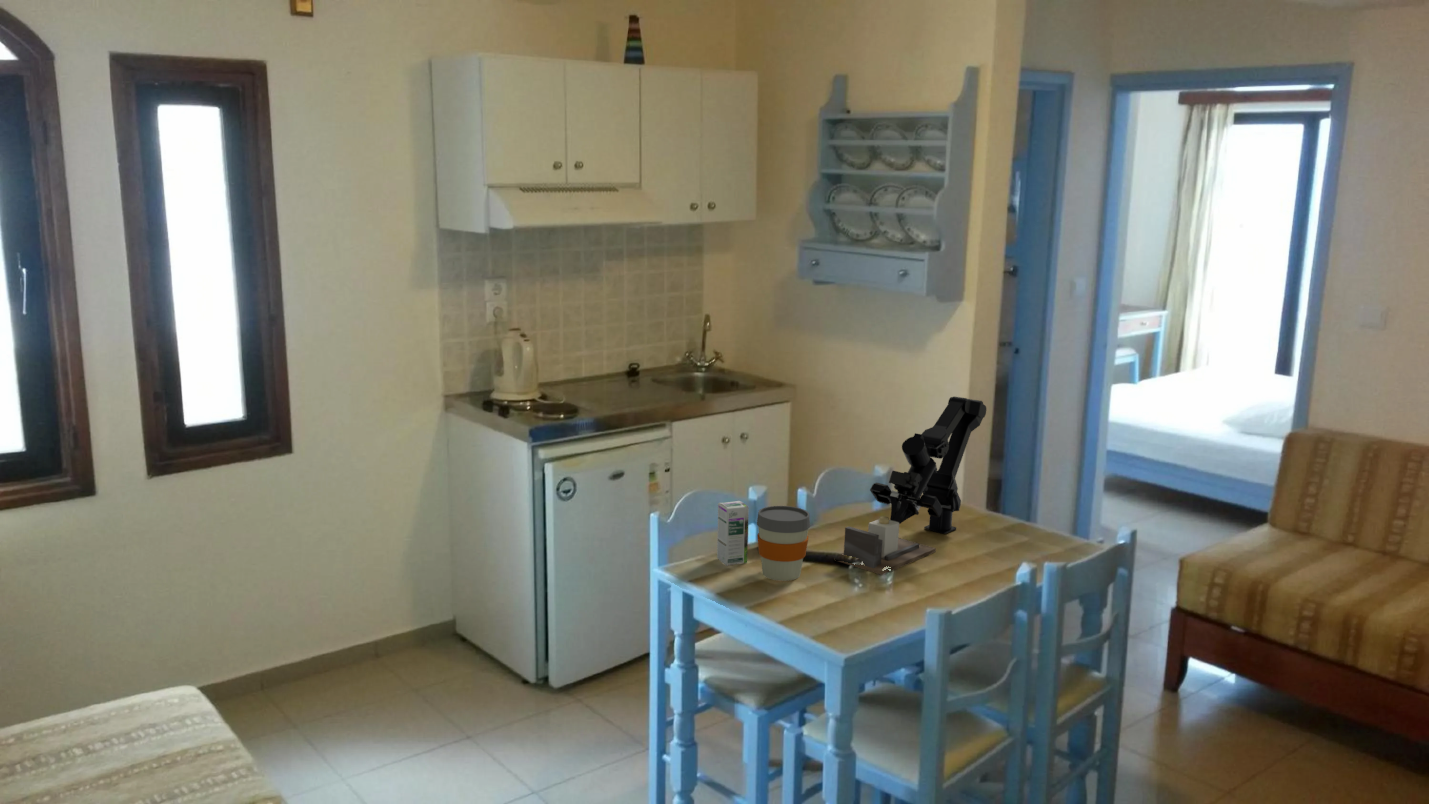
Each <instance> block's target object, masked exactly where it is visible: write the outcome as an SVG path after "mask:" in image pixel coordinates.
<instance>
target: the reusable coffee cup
mask: <svg viewBox="0 0 1429 804" xmlns="http://www.w3.org/2000/svg"><path fill="white" fill-rule="evenodd" d="M756 525H757V527H758V528H757V529H758V533H757V545H758V554H759V556H760V558H761V560H760V561H761V562H760V563H761V570H762V571H761V572H762V576H764V577H765V578H767V579H769V580H774V581H779V582H784V581H785V582H787V581H793V580H796V579H798V578H800V576H801V572H802V566H803V562H804V561H803V560H804V558H805V557H806V553H807V548H808V543H809V535H808V534H809V529H810V527H811V517H810V513H809V511H808V510H805V509H803V508H801V507H796V506H790V505H771V506H770V505H769V506H767V507H766V506H765V507H762V508H761V509H759V510H758V512H757V519H756Z"/></svg>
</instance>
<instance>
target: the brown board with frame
mask: <svg viewBox="0 0 1429 804" xmlns="http://www.w3.org/2000/svg"><path fill="white" fill-rule="evenodd" d="M882 541H883V540H880V539H879V535H877V534H874V533H870V532H868V530H863V529H859V528H856V527H854V526H846V527H845V528H844V544H843V545H844V546H843V552H842V553H841V554H842V555H847V556H852V557H856V558H859V559H860V560H862V561H863V563H864V564H865V566H864V565H861V564H860V565H856V564H855V565H854V564H852V563H848V562H844V561H838V562H839V563H843V564H845V565H849V566H851V567H855V568H858V569H861V570H865V571H868V572H871V573H874V574H877V575H881V576H884V575H886V574H888V573H890V572H893V571H894V570H897V569H900V568H901V567H904V566H906V565H909V564H911V563H913V562H916V561H918V560H920V559H922V558H925V557H927V556H929V555H931V554H934V553H936V551H937V548H936V547H933V546H929V545H926V544H923V543H918V542H915V541H912V540H909V539H908V540H907V539H904V538H901V537H898V551H896V552H893V553H891V554H888V555H886V556H885V558H884V559H883V558H882ZM834 561H836V560H835V559H834ZM836 562H837V561H836ZM886 566H887V567H888V566H889V567H891V568H888V569H891V571H889V570H888V569H886V570H884V571H882V569H883V568H884V567H886Z"/></svg>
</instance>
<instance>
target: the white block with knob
mask: <svg viewBox="0 0 1429 804" xmlns="http://www.w3.org/2000/svg"><path fill="white" fill-rule="evenodd" d="M867 532H870V533H874V534H877V535H879V539H880V540H883V541H882V558H883V559H884V558H885V556H886V555H888V554H891V553H893V552H896V551H898V538H899V536H900V535H899V533H900V524H899V522H896V521H892V520H890V517H888V516H879V518H878V519H876V520H873V521H871V522H868V527H867Z"/></svg>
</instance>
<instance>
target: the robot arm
mask: <svg viewBox="0 0 1429 804" xmlns="http://www.w3.org/2000/svg"><path fill="white" fill-rule="evenodd" d="M986 415H987V406H986V405H985V404H984V401H983V400H980V399H979V400H977V399H971V398H967V397H960V396H951V397H950V398H949V399H948V402H947V405H946V407H945V408H944V409H943V412H942V413H941V414H940V416H939V417H938V419H936V422H935V423H934V425H933V426H931V427H930V428H926V429H925V430H924V431H923V432H922V433H916V432H915V433H914V435H913V436H911V437H908V438H906V439H905V440H904V441H903V442H902V445H901V450H902V452H903V455H904V456H905V459H906V461H907V463H908V465H910V467H909V469H908V471H904V472H900V471H897V470H892V471H891V474H890V477H889V480H888V483H889V484H893V485H894V486H893V487H894V490H891V488H890V486H889V485H888V484H884V483H880V482H875V483H873V484H872V485H871V487H870V489H869V491H870V492H871V494H872V496H873V497H874V499H875V500H876V501H877V502H878V503H881V504H884V505H890V504H891V505H890V506H891V507H890V508H891V510H890V517H889V520H892V521H896V522H899V525H901V524H902V523H903V522H905V521H907V520H908V519H910V518H912V517H914V516H915V515H916V516H918V515H919V514H920V512H919V511H920V509H921V508H924V509H927V513H928V515H929V520H928V522H929V524H928V525H925V526H924V528H923V529H924V530H928V531H931V532H936V533H938V534H942V535H946V534H948V533H951V532H954V531H956V530H957V527H956V526H953V525H952V523H953V513H954V512H959V511H960V508H961V503H962V500H961V499H962V498H961V497H960V495H959V492H958V490H959V488H958V487H959V486H958V484H957V480H956V477H957V474H958V471H959V468H960V465H961V462H962V459H963V456H964V454H965V451H966V448H967V445H968V442H969V440H970V437H971V433H972V432H974V431H975V430H976V429H977V428H979V427H980V426H981V424H982V421H983V420H984V418H985V417H986ZM934 458H935V459H940V460H941V459H942V460H941V463H940V465H939V467H937V462H936V461H935V459H934Z"/></svg>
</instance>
